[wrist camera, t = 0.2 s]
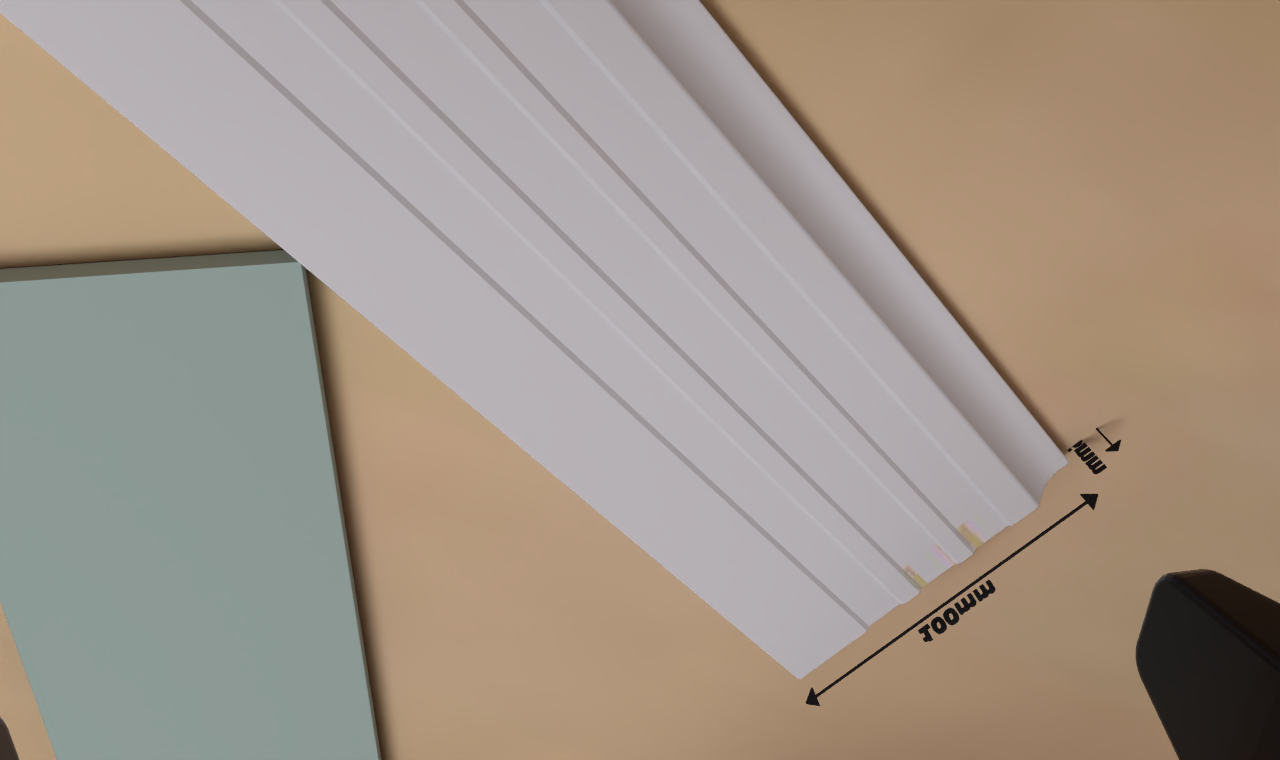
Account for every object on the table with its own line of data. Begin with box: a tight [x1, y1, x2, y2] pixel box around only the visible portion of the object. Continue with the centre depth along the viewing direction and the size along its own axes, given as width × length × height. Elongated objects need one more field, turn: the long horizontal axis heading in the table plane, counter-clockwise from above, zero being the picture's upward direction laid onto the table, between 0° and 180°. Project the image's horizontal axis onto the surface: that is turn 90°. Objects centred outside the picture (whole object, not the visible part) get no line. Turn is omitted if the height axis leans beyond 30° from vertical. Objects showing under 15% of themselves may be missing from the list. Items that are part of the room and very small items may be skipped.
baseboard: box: [0, 0, 1121, 706], centre depth 21 cm, size 30×3×10 cm
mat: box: [0, 250, 381, 760], centre depth 25 cm, size 17×7×1 cm, turn 179°
